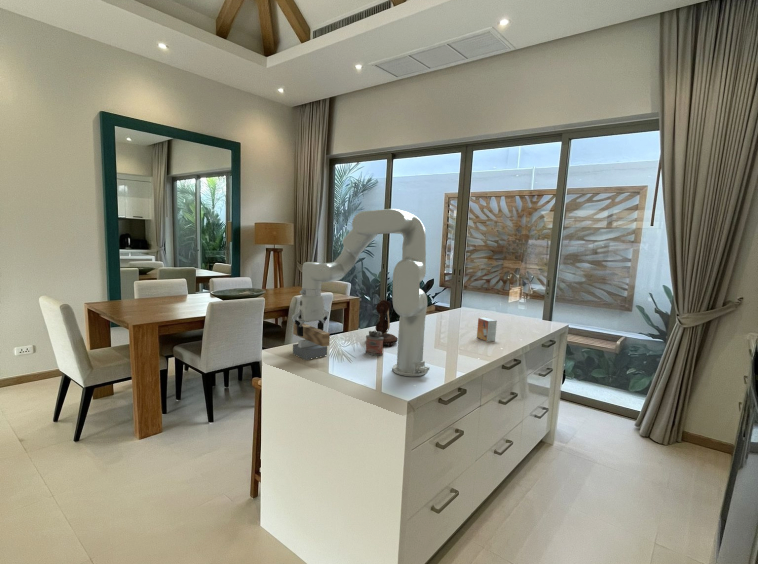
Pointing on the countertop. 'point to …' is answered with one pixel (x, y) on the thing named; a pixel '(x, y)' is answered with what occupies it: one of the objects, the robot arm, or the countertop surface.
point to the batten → (313, 335)
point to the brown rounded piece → (384, 323)
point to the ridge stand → (309, 349)
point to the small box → (486, 329)
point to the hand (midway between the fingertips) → (310, 334)
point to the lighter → (374, 343)
